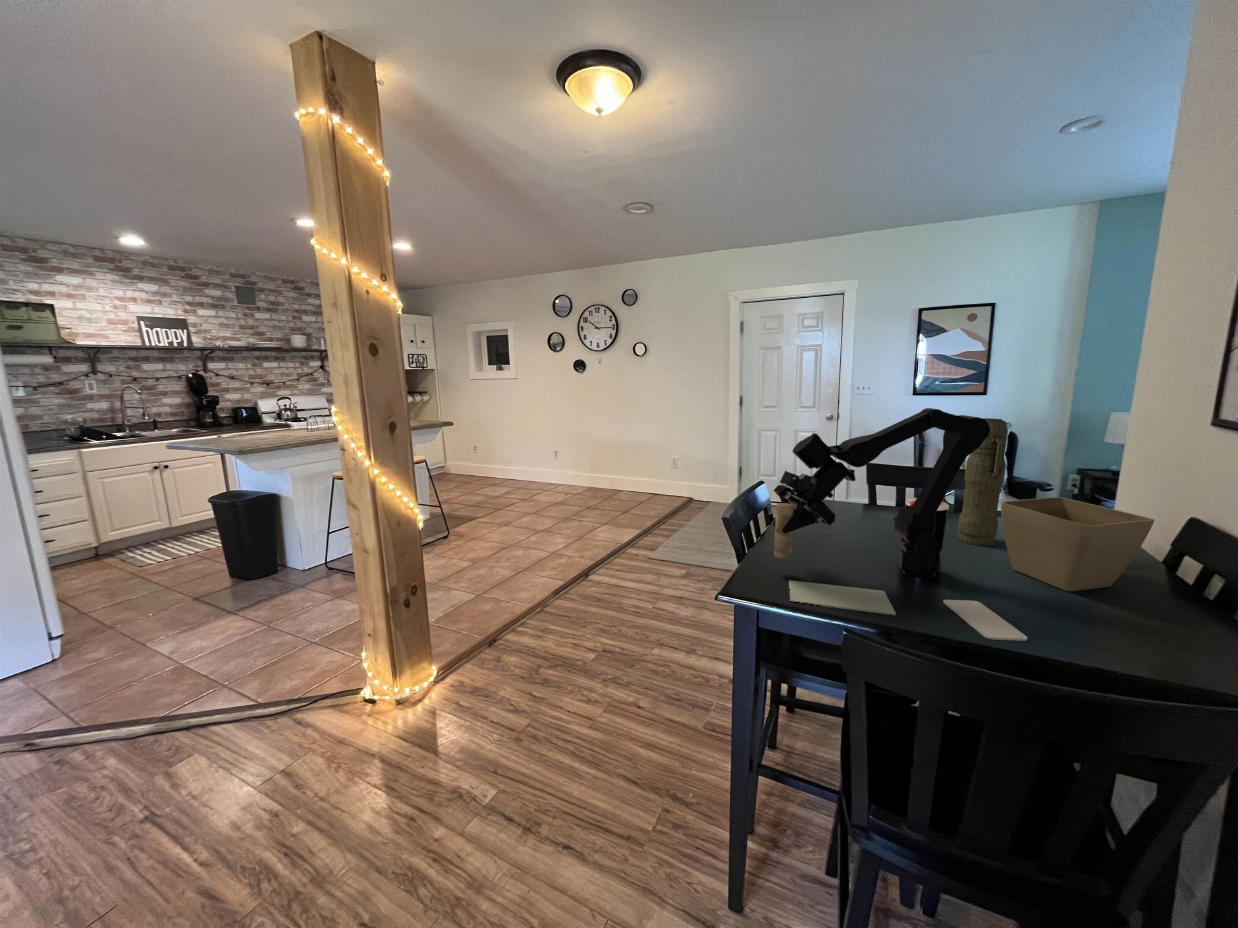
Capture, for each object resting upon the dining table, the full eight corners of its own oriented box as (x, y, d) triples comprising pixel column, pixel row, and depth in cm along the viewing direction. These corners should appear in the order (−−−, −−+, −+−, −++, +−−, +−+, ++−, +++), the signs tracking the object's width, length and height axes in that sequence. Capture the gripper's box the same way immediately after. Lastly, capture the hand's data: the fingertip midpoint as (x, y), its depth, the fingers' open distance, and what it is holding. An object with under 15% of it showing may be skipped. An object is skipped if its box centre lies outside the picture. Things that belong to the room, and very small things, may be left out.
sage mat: (884, 592, 106) (884, 590, 106) (895, 615, 96) (895, 613, 96) (788, 581, 112) (788, 580, 112) (790, 602, 102) (790, 600, 102)
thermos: (976, 533, 143) (992, 417, 136) (1006, 548, 131) (1025, 421, 124) (946, 533, 143) (960, 417, 136) (973, 548, 131) (991, 421, 125)
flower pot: (1142, 591, 105) (1157, 518, 102) (1075, 601, 101) (1089, 525, 98) (1048, 559, 123) (1059, 496, 120) (989, 566, 119) (998, 501, 116)
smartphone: (978, 600, 101) (1030, 638, 86) (977, 604, 101) (1029, 642, 86) (941, 599, 102) (987, 637, 87) (940, 602, 102) (986, 640, 87)
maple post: (790, 552, 117) (793, 503, 114) (791, 558, 113) (794, 508, 111) (773, 551, 118) (776, 502, 116) (773, 557, 114) (776, 506, 112)
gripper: (782, 453, 121) (740, 498, 121) (827, 467, 103) (777, 519, 103) (809, 481, 124) (767, 525, 124) (856, 500, 106) (808, 551, 106)
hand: (778, 529), depth 114 cm, fingers closed on maple post, 4 cm apart
